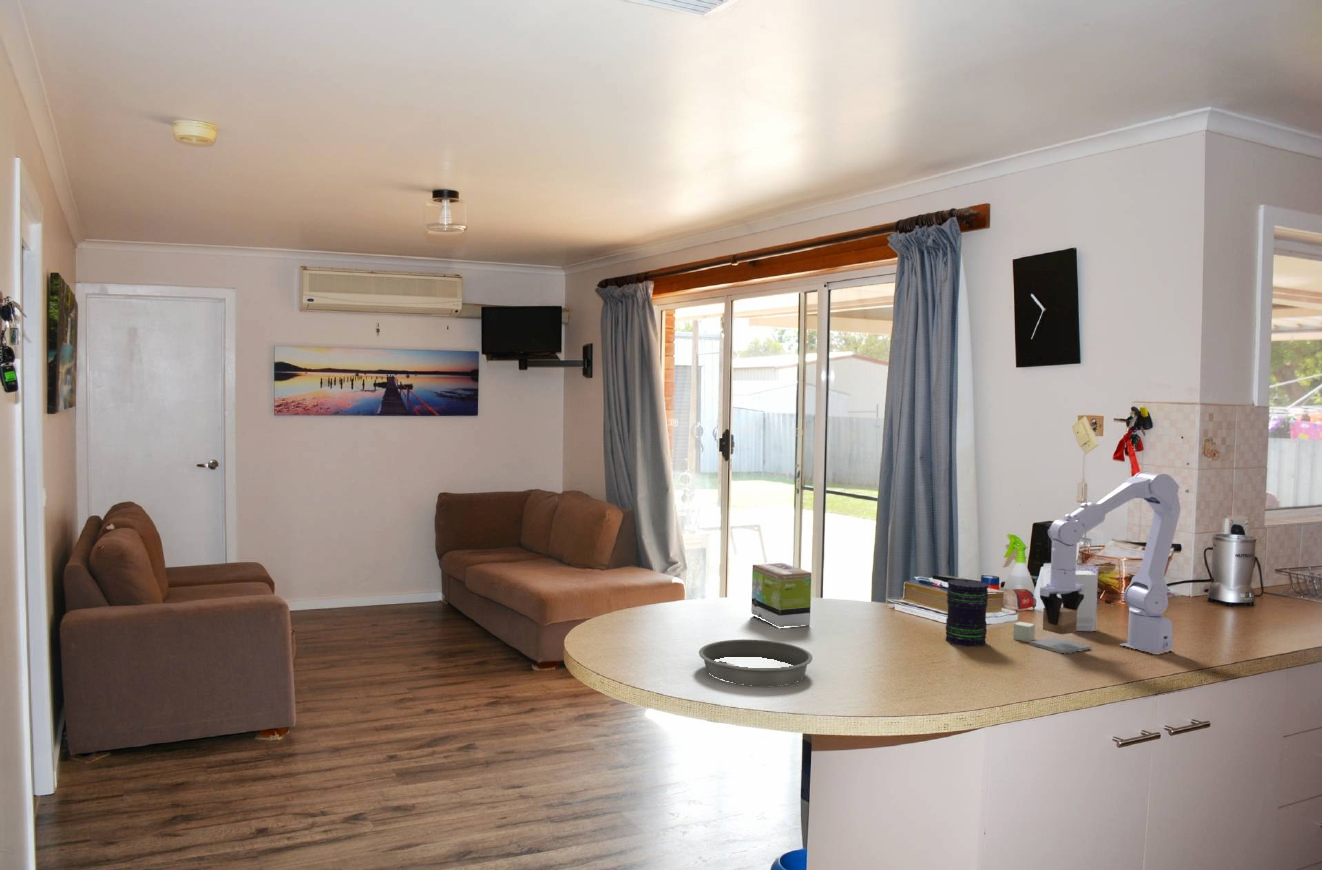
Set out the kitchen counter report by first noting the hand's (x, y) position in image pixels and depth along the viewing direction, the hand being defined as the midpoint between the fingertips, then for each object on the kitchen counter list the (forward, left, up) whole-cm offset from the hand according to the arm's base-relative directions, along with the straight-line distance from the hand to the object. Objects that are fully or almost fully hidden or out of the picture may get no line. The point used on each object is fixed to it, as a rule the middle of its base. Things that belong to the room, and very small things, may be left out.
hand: (1060, 622), depth 236 cm
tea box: (+51, +48, -6) cm, 70 cm away
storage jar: (+14, +18, -6) cm, 24 cm away
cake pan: (+15, +83, -7) cm, 85 cm away
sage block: (+9, +1, -6) cm, 11 cm away
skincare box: (+11, -22, -6) cm, 25 cm away
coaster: (0, 0, -6) cm, 6 cm away
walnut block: (0, 0, -2) cm, 2 cm away
